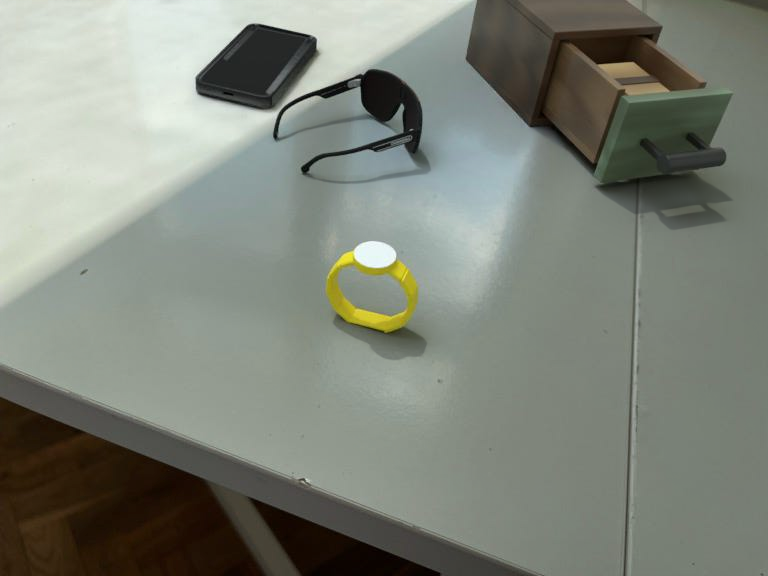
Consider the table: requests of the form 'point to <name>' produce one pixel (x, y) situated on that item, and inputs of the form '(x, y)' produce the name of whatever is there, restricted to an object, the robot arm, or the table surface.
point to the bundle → (633, 78)
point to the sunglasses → (374, 109)
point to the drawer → (633, 109)
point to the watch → (373, 262)
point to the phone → (257, 65)
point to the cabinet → (541, 42)
